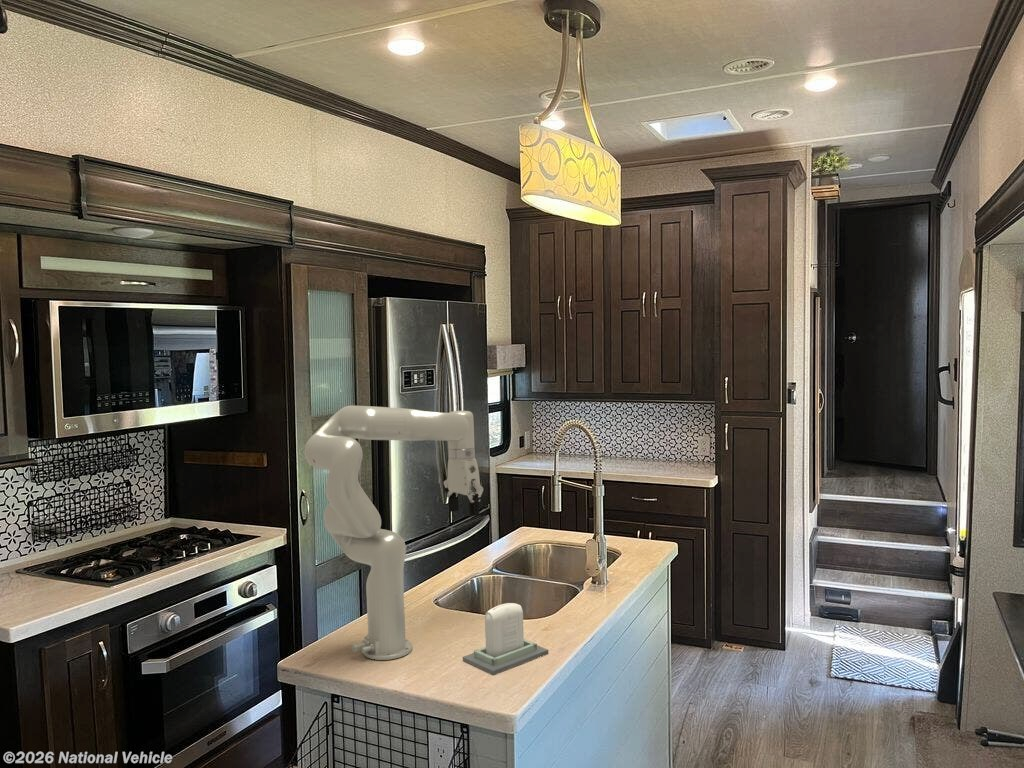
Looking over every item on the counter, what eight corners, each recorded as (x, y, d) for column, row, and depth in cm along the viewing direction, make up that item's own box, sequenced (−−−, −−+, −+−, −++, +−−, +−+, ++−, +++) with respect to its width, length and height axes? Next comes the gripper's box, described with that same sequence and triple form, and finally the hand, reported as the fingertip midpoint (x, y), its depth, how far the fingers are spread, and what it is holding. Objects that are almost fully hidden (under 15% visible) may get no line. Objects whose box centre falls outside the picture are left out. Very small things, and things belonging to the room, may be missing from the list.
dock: (493, 675, 186) (492, 664, 186) (462, 660, 195) (462, 650, 195) (548, 653, 198) (548, 643, 197) (517, 641, 207) (516, 631, 207)
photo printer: (517, 645, 201) (515, 598, 200) (526, 650, 197) (525, 602, 197) (483, 655, 195) (481, 607, 194) (492, 661, 192) (491, 611, 191)
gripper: (490, 455, 220) (493, 515, 220) (454, 450, 233) (456, 507, 234) (469, 458, 215) (472, 520, 216) (433, 453, 228) (435, 511, 229)
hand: (463, 513), depth 225 cm, fingers open, 9 cm apart
